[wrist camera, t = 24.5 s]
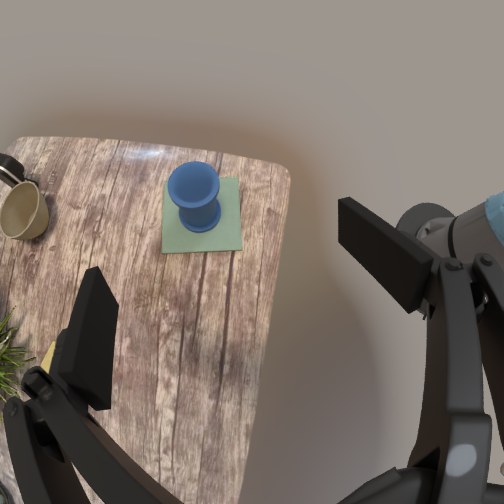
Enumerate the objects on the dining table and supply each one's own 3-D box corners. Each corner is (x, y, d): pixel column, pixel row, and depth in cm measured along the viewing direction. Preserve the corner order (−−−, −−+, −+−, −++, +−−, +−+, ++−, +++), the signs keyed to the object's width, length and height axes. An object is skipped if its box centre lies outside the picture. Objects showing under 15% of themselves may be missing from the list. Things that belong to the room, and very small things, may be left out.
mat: (238, 178, 46) (238, 177, 45) (241, 250, 43) (242, 249, 43) (165, 182, 45) (164, 180, 44) (162, 254, 42) (161, 253, 41)
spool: (220, 193, 44) (219, 160, 35) (221, 232, 43) (220, 206, 33) (180, 195, 44) (168, 162, 34) (179, 234, 42) (166, 209, 33)
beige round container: (68, 216, 42) (47, 200, 35) (36, 260, 40) (12, 250, 33) (43, 187, 43) (24, 171, 36) (14, 227, 40) (-8, 215, 34)
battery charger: (43, 181, 43) (12, 153, 32) (34, 199, 42) (1, 173, 31) (23, 175, 43) (-6, 148, 32) (15, 191, 42) (-16, 166, 31)
